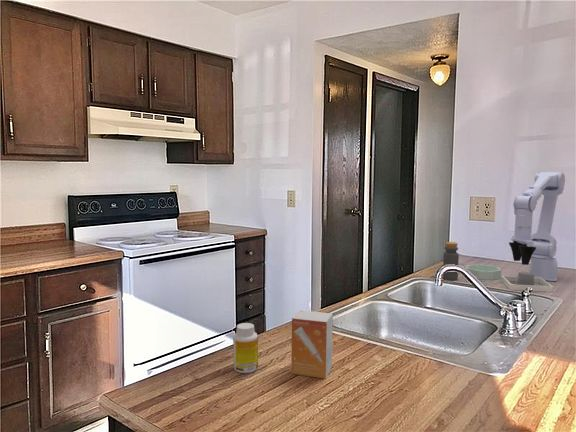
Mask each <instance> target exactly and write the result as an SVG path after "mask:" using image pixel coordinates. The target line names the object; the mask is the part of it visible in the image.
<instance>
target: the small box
mask: <svg viewBox="0 0 576 432" xmlns="http://www.w3.org/2000/svg"><path fill="white" fill-rule="evenodd" d="M333 315H334V314H333V313H332V312H331V313H330V312H321V311H310V310H301V309H299V310H298V311H297V312H296V313H295V314H294V315H293V317H292V318H291V367H290V368H291V370H290V371H291V372H290V373H291V375H298V376H299V375H300V376H306V377H312V378H318V379H325V380H326V379H327V377H328V375H329V373H330V372H331V369H332V367H333V322H334V321H333V320H334V317H333Z"/></svg>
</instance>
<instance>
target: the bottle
mask: <svg viewBox="0 0 576 432" xmlns="http://www.w3.org/2000/svg"><path fill="white" fill-rule="evenodd" d="M458 244H459V243H458V242H456V241H455V242H453V241H447V242H445V246H444V250H445V252H443V257H442V258H443V260H442V261H443V263H442V264H443V265H445V264H455V265H458V266H459V252H457V251H458V250H459V248H458ZM458 277H459V272H458V273H457V272H447V273H445V274H444V275H443V274H442V279H443V280H446V281H453V282H454V281H457V280H459V279H458Z"/></svg>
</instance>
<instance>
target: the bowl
mask: <svg viewBox="0 0 576 432" xmlns="http://www.w3.org/2000/svg"><path fill="white" fill-rule="evenodd" d="M465 268H466V269H467V270H469V271H470V272H471V273H472V274H473V275H474V276H476V277H477V278H478V279H477V280H482V281H483V280H487V281H494V280H499V279H500V280H501V276H502V269H501V268H500V267H499V266H494V265H490V264H476V263H475V264H469V265H465V267H464V269H465Z"/></svg>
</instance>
